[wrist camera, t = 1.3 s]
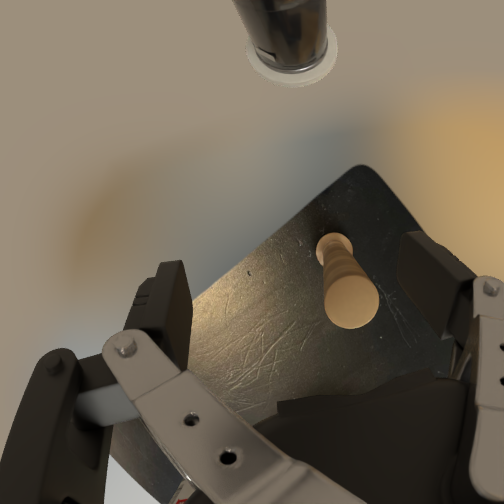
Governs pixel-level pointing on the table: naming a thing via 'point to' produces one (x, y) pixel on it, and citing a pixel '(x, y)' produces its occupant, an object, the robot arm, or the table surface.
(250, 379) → the table surface
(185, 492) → the beer can
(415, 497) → the robot arm
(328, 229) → the table surface
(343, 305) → the brown wooden rod
